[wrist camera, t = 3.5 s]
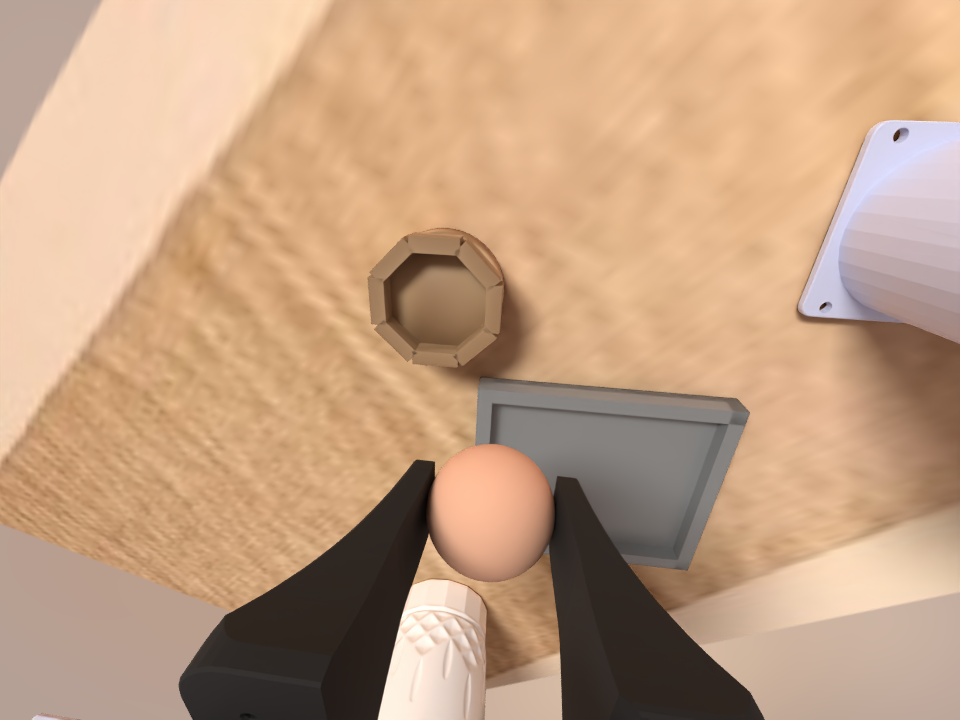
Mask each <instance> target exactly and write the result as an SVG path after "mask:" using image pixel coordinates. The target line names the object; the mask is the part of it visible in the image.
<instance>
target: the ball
mask: <svg viewBox="0 0 960 720" xmlns="http://www.w3.org/2000/svg"><path fill="white" fill-rule="evenodd" d="M426 518H427V526H428V530H429V534H430V537H431V540H432V542H433V544H434V546H435V548H436V550H437V551H438V553H439V555H440V556H441V557H442V558H443V559H444V561H445V562H446V563H447V564H448V565H449V566H450V567H452V568H453V569H454V570H456V571H457V572H459V573H460V574H462V575H464V576H466V577H468V578H471V579H474V580H478V581H483V582H500V581H505V580H508V579H511V578H514V577H516V576H519V575H521V574H522V573H524V572H525V571H527V570H528V569H529V568H531V567H532V566H533V565H534V564H535V563H536V562H537V561H538V560H539V559H540V557H541V556H542V555H543V553H544V552H545V550H546V548H547V546H548V544H549V542H550V539H551V537H552V533H553V529H554V524H555V504H554V498H553V494H552V491H551V488H550V485H549V483H548V481H547V479H546V477H545V476H544V474H543V473H542V471H541V470H540V468H539V467H538V466H537V465H536V464H535V463H534V462H533V461H532V460H531V459H530V458H529V457H527V456H526V455H524V454H523V453H521V452H519V451H517V450H515V449H513V448H510V447H507V446H504V445H498V444H482V445H477V446H473V447H470V448H467V449H465V450H463V451H461V452H459V453H458V454H456V455H455V456H453V457H452V458H451V459H449V460H448V461H447V462H446V463H445V465H444V466H443V467H442V468H441V469H440V471H439V472H438V474H437V475H436V477H435V478H434V481H433V483H432V485H431V488H430V490H429V495H428V500H427V508H426Z"/></svg>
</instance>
